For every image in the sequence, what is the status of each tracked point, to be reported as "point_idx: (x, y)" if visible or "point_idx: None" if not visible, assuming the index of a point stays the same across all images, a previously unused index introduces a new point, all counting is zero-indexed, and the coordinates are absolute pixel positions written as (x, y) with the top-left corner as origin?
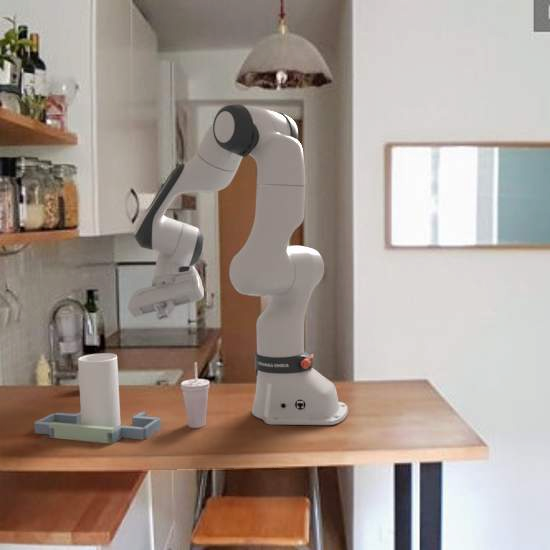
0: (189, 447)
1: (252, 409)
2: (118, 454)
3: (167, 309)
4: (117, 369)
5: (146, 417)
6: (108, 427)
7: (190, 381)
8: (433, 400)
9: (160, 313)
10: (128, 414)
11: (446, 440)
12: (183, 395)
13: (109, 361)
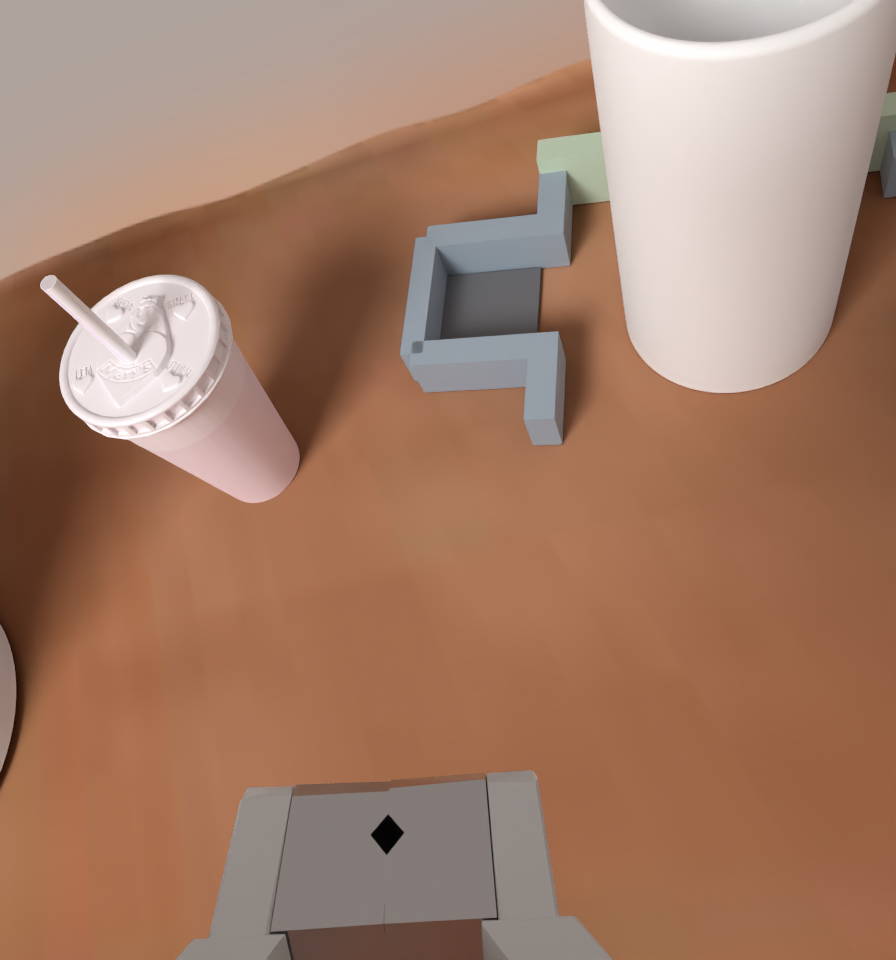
0: (234, 255)
1: (2, 683)
2: (471, 130)
3: (217, 924)
4: (602, 95)
5: (481, 352)
6: (570, 152)
7: (162, 342)
8: None
9: (419, 804)
10: (712, 527)
11: None
12: (238, 347)
13: None
